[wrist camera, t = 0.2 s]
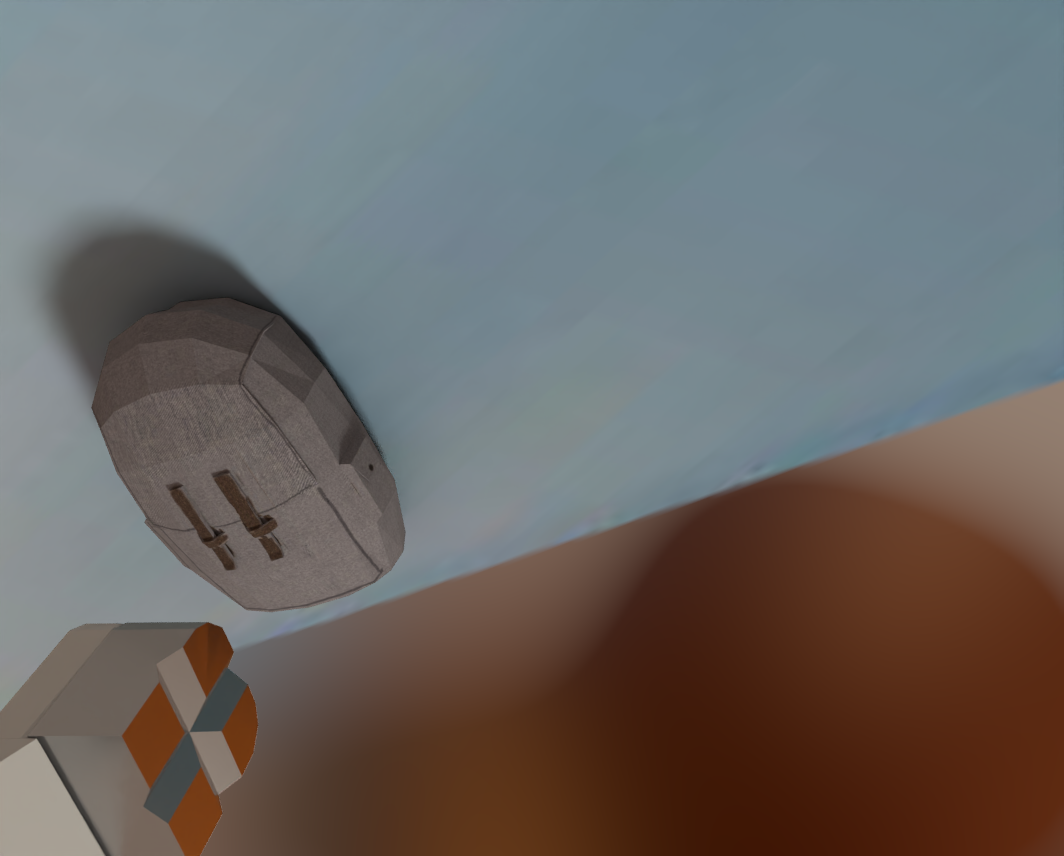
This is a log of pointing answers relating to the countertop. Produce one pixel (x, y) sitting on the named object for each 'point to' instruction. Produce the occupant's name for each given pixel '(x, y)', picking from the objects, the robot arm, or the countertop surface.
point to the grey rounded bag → (247, 456)
